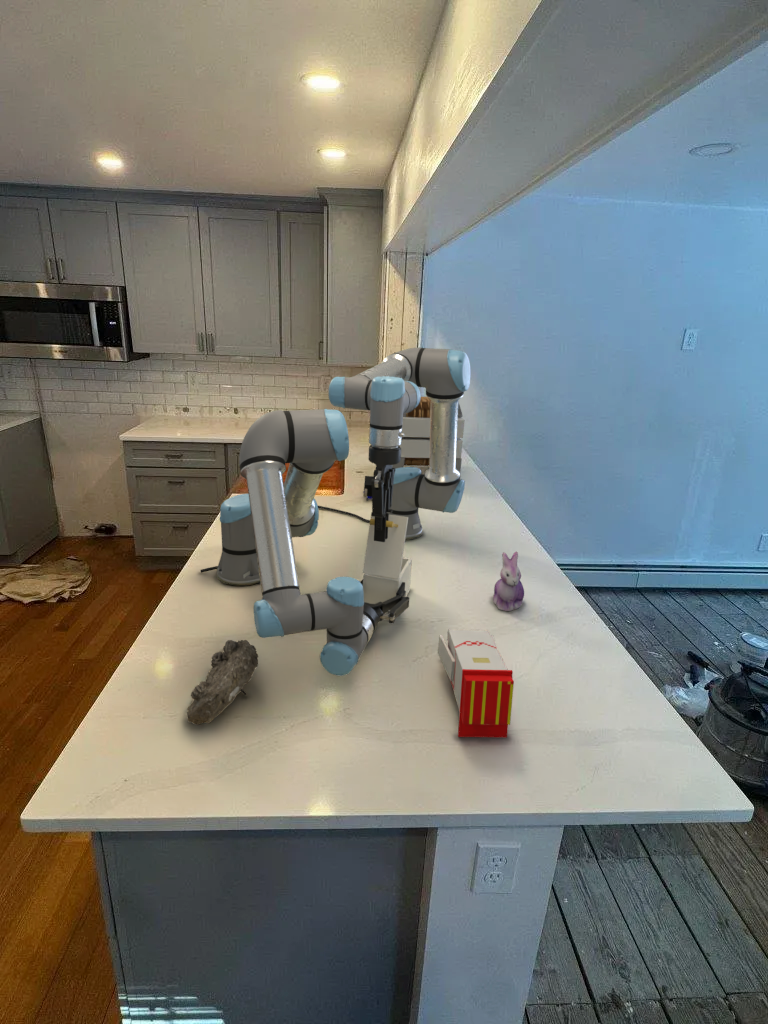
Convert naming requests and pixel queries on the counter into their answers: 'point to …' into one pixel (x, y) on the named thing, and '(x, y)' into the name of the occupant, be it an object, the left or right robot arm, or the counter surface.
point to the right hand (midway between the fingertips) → (380, 539)
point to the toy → (478, 682)
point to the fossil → (223, 681)
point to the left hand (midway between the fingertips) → (384, 583)
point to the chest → (386, 584)
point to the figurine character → (368, 487)
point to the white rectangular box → (386, 549)
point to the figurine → (509, 585)
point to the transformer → (423, 436)
